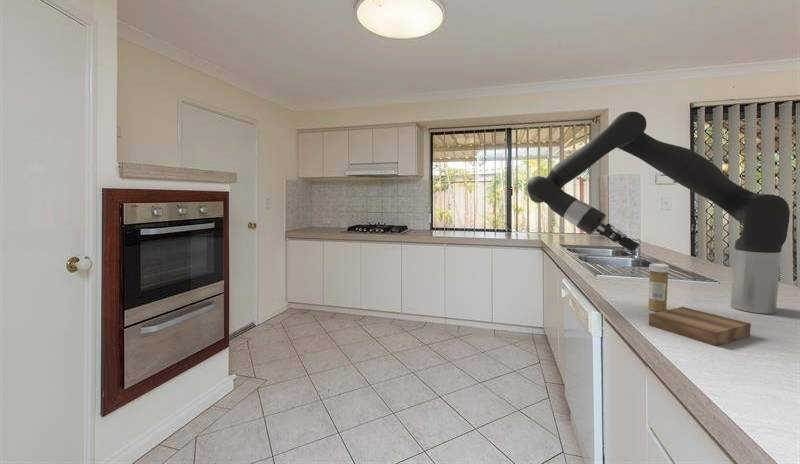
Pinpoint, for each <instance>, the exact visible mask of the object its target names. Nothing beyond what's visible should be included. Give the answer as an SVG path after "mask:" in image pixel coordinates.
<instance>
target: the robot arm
mask: <svg viewBox="0 0 800 464" xmlns="http://www.w3.org/2000/svg"><path fill="white" fill-rule="evenodd" d="M647 123H648V122H647V119H646V117H645V116H644V115H643V113H640V112H638V111H627V112H623V113H621V114H619V115H618V116H617V117H616V118H615V119H613V120H612V122H611V123H610V124H609V125H608V126H607V127H606V128H605V129H604V130H603V131H602V132H600V133H599V134H598V135H597V136H596V137H594V138H592V139H591V140H590V141H589V142H587V143H586V144H584V145H583V146H582V147H580V148H579V149H577V150H576V151H574V152H573V153H571V154H570V155H568V156H567V157H565V158H564V159H563V160H561V161H560V162H558V163H557V164H556V165H554V166H553V167H552V168H551V169H550V171H549V173H548V175H547V176H546V177H545V176H541V175H537V176H534V177H531V178H530V179H529V180H528V181H527V184H526V185H527V186H526V190H527V193H528V196H529V198H530V200H531V201H532V202H534V203H536V204H537V203H538V204H540V203H541V204H542V203H545V204H546V205H547V206H548V207H549V209H550V210H551V211H553V212H554V213H555V214H557V215H558V216H560V217H562V218H563V219H565V220H566V221H567V222H568V223H570V224H571V225H573V226H574V227H577V229H579V230H580V231H583V232H584V233H586V234H587V235H593V234H594V233H595V232H597V233H599V235H600V236H602V237H603V238H606V239H607V240H609V241H611V242H613V243H615V244H619V245H621V246H622V247H624V248H626V249H627V250H630V252H631V251H635V250H637V249H638V248H639V246H640V243H639V242H636V241H635V240H633V239H631V238H630V237H629V236H627V235H626V233H623V231H622V230H620V229H618V228H616V227H615V226H614V225H613V224H611V223H608V222H607V224H606V223H604V221H605V220H606V216H607V215H606V214H605V213H604V212H602V211H601V210H599V209H598V208H595V207H593V206H592V205H591V204H588V203H587V202H585V201H582V200H580V199H578V198H576V197H574V196H572V195H571V194H569V193H567V192H565V191H564V190H563V189H562V188H563V187H564V186H565V185H567V184H568V183H570V182H571V181H574V179H576V178H577V177H578V176H580V175H581V174H583V173H585V172H586V171H587V170H588V169H589V168H590V167H592V166H593V165H594V164H595V163H597V162H598V161H599V160H600V159H602V158H603V157H605V156H606V155H608V153H611V152H612V151H613V150H615V149H619V150H621V151H624V152H625V153H628V154H629V155H631V156H634V157H636V158H638V159H639V160H641V161H643V162H645V164H647V165H649V166H651V167H652V168H654V169H655V170H657V171H659V172H660V173H662V175H665V176H666V177H668V179H671V180H672V181H674V182H675V183H678V184H679V185H680V186H682V187H684V188H686V189H688V190H690V191H691V192H693V193H695V194H697V195H699V196H701V197H703V198H705V199H707V200H709V201H711V202H712V203H713V204H715V205H716V206H718V207H719V208H720V209H722V211H724V212H726V213H727V214H728V215H729V216H730V217H732V218H733V219H734V220H736V221H737V222H739V223H740V224H742V231H741V235H740V236H739V238H737V239H735V243H734V253H733V254H734V255H733V267H732V283H731V292H730V293H731V296H730V307H732V308H733V309H737V310H739V311H745V312H748V313H753V314H754V313H755V314H766V315H772V314H776V313H777V305H778V304H777V303H778V297H779V296H778V295H779V294H778V293H779V284H780V283H779V281H780V271H781V270H780V269H781V257H782V248H783V245H784V244H785V243H786V241H787V237H788V232H789V231H788V230H789V225H790V224H789V223H790V218H791V217H790V216H791V215H790V213H791V211H790V206H789V203H788V202H787V201H786V200H785V198H783V197H781V196H780V195H777V194H770V193H768V194H767V193H766V194H765V193H762V194H761V193H760V194H758V193H756V192H754V191H751V190H748V189H746V188H744V187H742V186H741V185H739V184H737V183H736V182H734V181H732V180H731V179H730V178H728V176H726V174H724V172H723V171H722V170H721V169H720V168H719V167H718V166H717V165H716V164H715V163H714V162H713V161H710V160H709V159H707V158H706V157H704V156H703V155H701V154H699V153H697V152H695V150H692V149H689V148H687V147H683V146H680V145H675V144H672V143H668V142H663V141H660V140H658V139H656V138H654V137H652V136H651V135H649V134H647V133H646V132H645V131H646V128H647V125H648V124H647Z"/></svg>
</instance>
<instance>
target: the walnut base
mask: <svg viewBox="0 0 800 464" xmlns="http://www.w3.org/2000/svg"><path fill="white" fill-rule="evenodd" d="M648 326H650V327H654V328H657V329H660V330H663V331H666V332H670V333H672V334H676V335H679V336H683V337H686V338H688V339H692V340H695V341H698V342H702V343H705V344H707V345H711V346H714V347H717V346H720V345H723V344H727V343H730V342H731V343H732V342H733V341H737V340H740V339H741V340H742V339H744V338H747V337H750V336H751V328H752V327H751V326H752V323H751V322H746V321H742V320H738V319H735V318H730V317H725V316H723V315H717V314H713V313H709V312H705V311H701V310H697V309H694V308H689V307H685V306H681V307H679V306H678V307H675V308H670V309H667V310H665V311H660V312H659V311H654V312H653V313H652V312H651V313H648Z"/></svg>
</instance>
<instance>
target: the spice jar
mask: <svg viewBox="0 0 800 464" xmlns="http://www.w3.org/2000/svg"><path fill="white" fill-rule="evenodd" d="M648 270H649V279H648V280H649V281H648V295H647V296H648V302H647V303H648V304H647V309H648V310H650V311H653V312H660V311H665V310H668V309H667V304H668V303H667V301H668V285H669V284H668V283H669V281H668V280H669V276H668V275H669V272H670V266H669V265H668V264H665V263H650V264H649V267H648Z"/></svg>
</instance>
